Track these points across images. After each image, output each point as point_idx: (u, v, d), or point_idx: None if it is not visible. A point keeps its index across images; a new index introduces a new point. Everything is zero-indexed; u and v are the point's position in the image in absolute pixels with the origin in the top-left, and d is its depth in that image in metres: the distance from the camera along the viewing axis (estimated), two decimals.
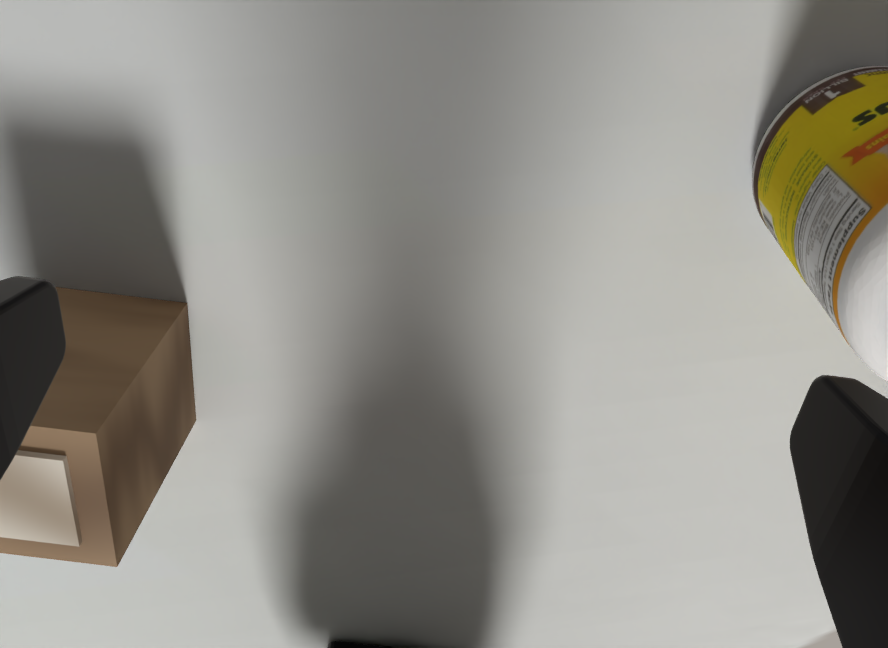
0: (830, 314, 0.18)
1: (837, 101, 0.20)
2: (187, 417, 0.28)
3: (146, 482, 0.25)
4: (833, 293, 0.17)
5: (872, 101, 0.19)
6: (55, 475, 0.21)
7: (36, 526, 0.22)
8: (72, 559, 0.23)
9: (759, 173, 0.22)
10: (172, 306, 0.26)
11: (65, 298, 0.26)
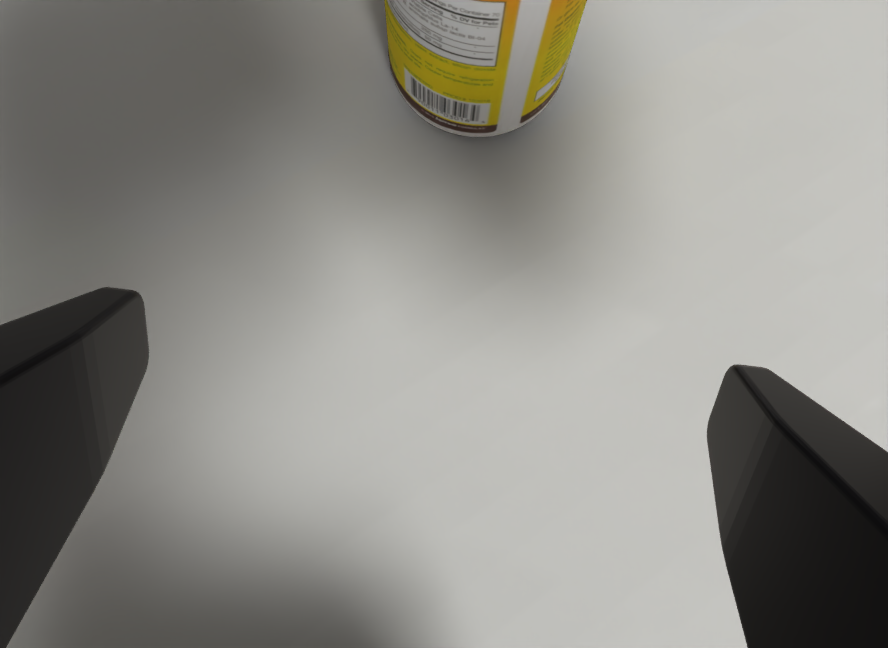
0: None
1: None
2: None
3: None
4: None
5: None
6: None
7: None
8: None
9: (394, 73, 0.24)
10: None
11: None
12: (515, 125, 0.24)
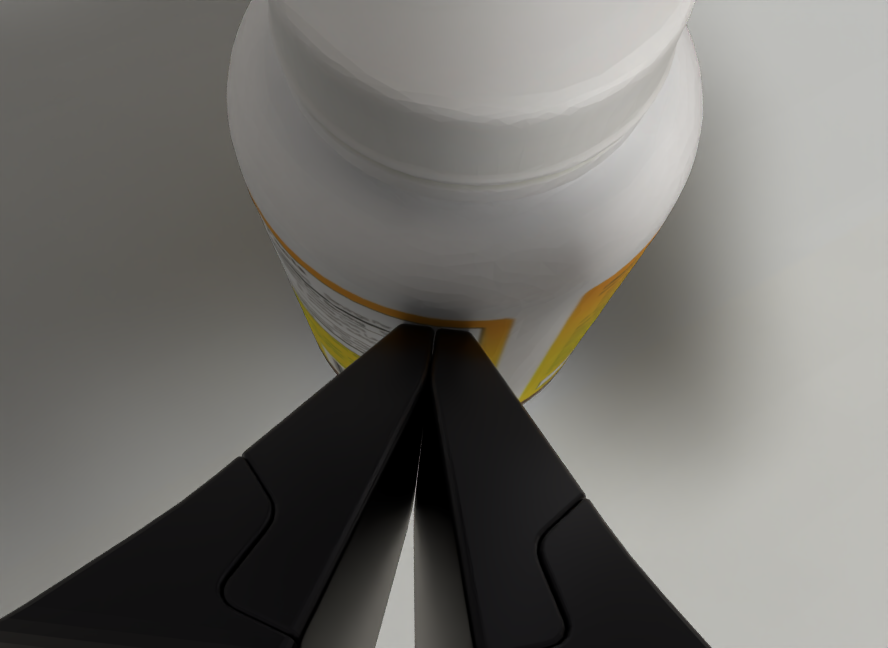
0: (317, 289, 0.09)
1: None
2: None
3: None
4: (267, 224, 0.09)
5: None
6: None
7: None
8: None
9: None
10: None
11: None
12: None
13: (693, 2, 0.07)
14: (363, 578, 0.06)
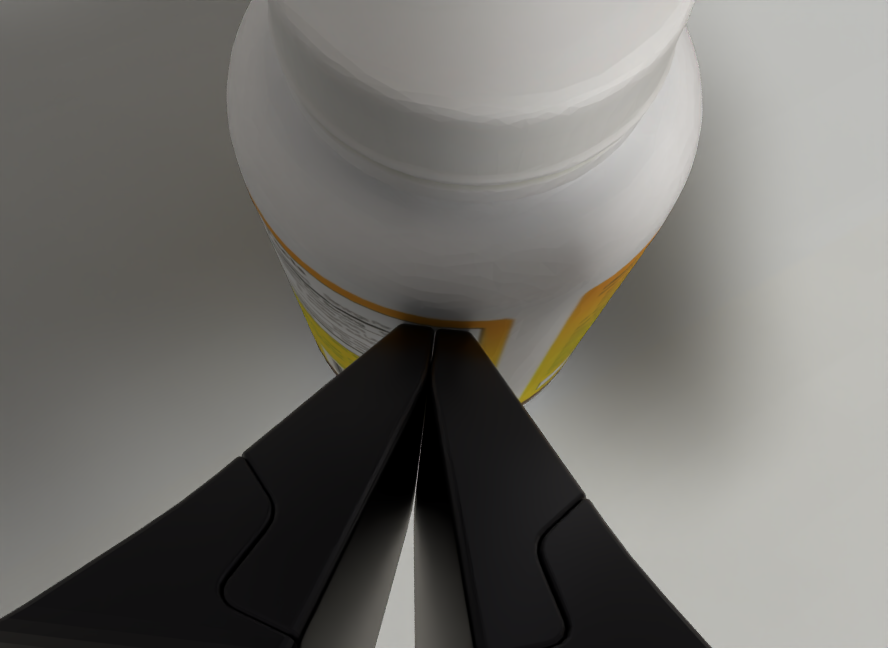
0: (317, 289, 0.09)
1: None
2: None
3: None
4: (267, 224, 0.09)
5: None
6: None
7: None
8: None
9: None
10: None
11: None
12: None
13: (693, 2, 0.07)
14: (363, 578, 0.06)
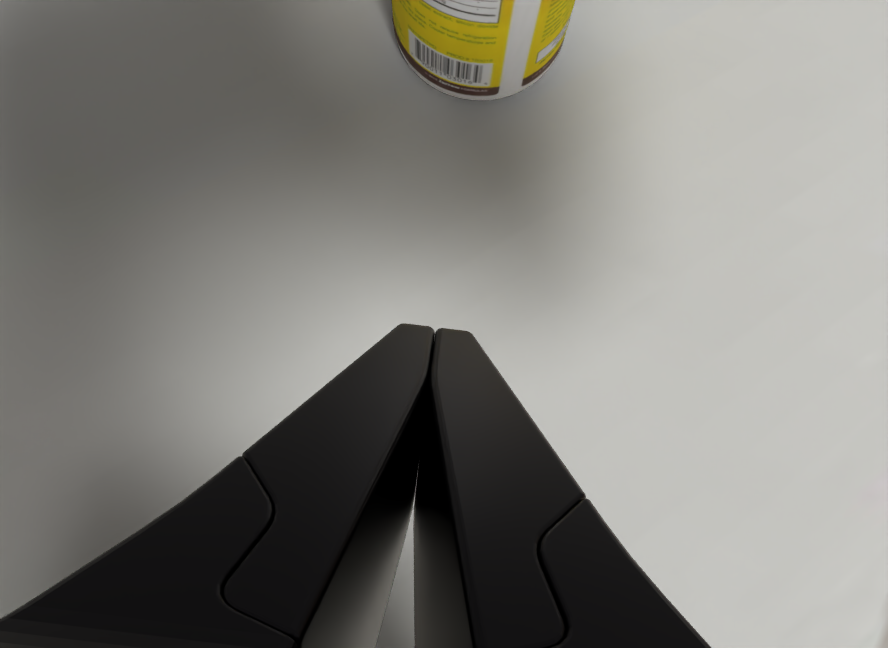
0: None
1: None
2: None
3: None
4: None
5: None
6: None
7: None
8: None
9: (398, 37, 0.24)
10: None
11: None
12: (517, 88, 0.25)
13: None
14: (363, 578, 0.06)
